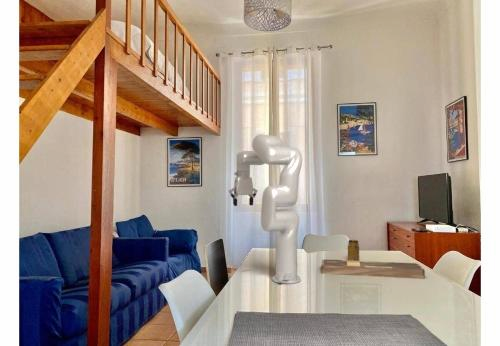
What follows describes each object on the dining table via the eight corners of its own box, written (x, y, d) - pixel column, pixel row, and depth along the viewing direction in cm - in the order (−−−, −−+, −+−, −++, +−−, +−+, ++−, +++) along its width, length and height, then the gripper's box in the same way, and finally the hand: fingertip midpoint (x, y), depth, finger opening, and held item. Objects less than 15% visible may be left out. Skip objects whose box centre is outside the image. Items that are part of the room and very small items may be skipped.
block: (360, 274, 178) (360, 263, 178) (347, 273, 179) (347, 263, 180) (359, 271, 184) (359, 261, 184) (346, 270, 185) (346, 260, 185)
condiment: (352, 260, 208) (352, 239, 209) (365, 263, 202) (365, 240, 202) (344, 262, 204) (344, 240, 204) (357, 265, 197) (357, 242, 197)
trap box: (424, 278, 169) (424, 269, 169) (321, 273, 179) (321, 264, 179) (418, 272, 181) (418, 263, 181) (322, 267, 191) (322, 259, 191)
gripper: (231, 174, 200) (231, 206, 199) (260, 174, 208) (260, 205, 207) (226, 174, 207) (226, 205, 206) (253, 174, 214) (254, 204, 214)
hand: (243, 205), depth 207 cm, fingers open, 9 cm apart
